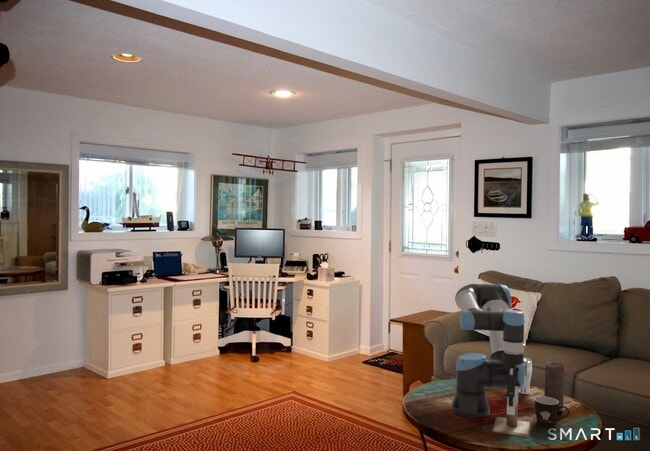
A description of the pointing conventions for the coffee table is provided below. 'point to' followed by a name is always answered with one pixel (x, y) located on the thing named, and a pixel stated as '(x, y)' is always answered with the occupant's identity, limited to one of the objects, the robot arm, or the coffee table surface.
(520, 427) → the cover
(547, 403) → the coffee mug
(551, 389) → the dark brown log
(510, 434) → the mat
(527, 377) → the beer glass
